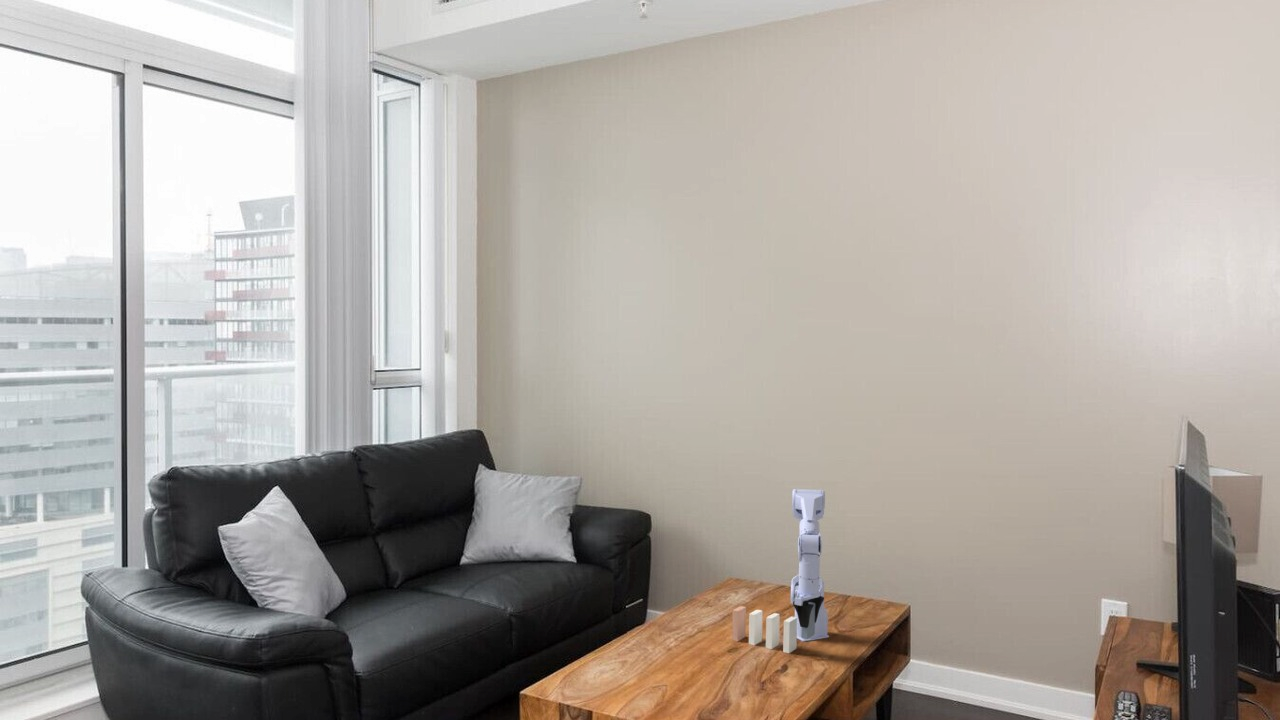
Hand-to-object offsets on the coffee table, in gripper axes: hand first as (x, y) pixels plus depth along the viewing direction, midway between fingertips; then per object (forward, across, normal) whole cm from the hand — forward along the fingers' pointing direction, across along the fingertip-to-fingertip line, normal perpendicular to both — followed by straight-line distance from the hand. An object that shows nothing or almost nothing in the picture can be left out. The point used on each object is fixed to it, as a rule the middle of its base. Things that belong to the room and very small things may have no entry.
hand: (808, 624), depth 263 cm
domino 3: (+9, 0, -11) cm, 14 cm away
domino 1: (+9, 0, -22) cm, 24 cm away
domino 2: (+9, 0, -16) cm, 19 cm away
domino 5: (+3, 0, 0) cm, 3 cm away
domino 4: (+9, 0, -6) cm, 10 cm away
